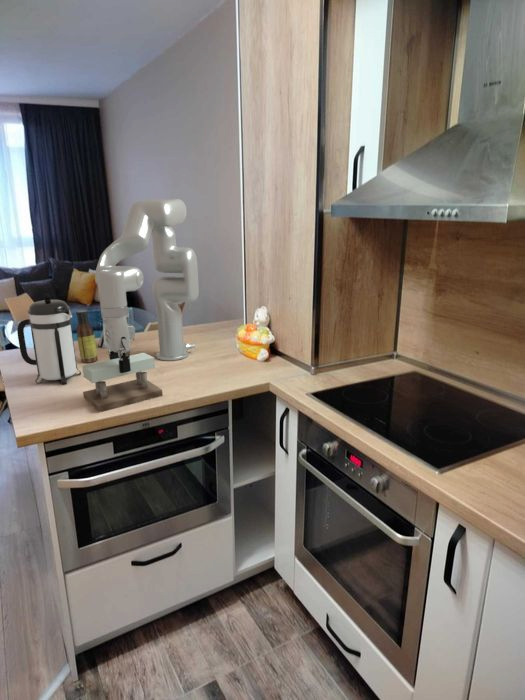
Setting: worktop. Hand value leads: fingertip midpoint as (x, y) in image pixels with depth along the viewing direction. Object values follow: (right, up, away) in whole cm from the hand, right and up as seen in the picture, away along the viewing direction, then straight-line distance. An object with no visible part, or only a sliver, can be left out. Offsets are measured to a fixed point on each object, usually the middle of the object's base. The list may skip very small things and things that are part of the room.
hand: (120, 368), depth 143 cm
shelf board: (0, -1, 0) cm, 1 cm away
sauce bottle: (-24, +1, +38) cm, 45 cm away
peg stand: (0, -9, +3) cm, 9 cm away
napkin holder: (-20, +8, +61) cm, 65 cm away
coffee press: (-28, -5, +19) cm, 34 cm away
